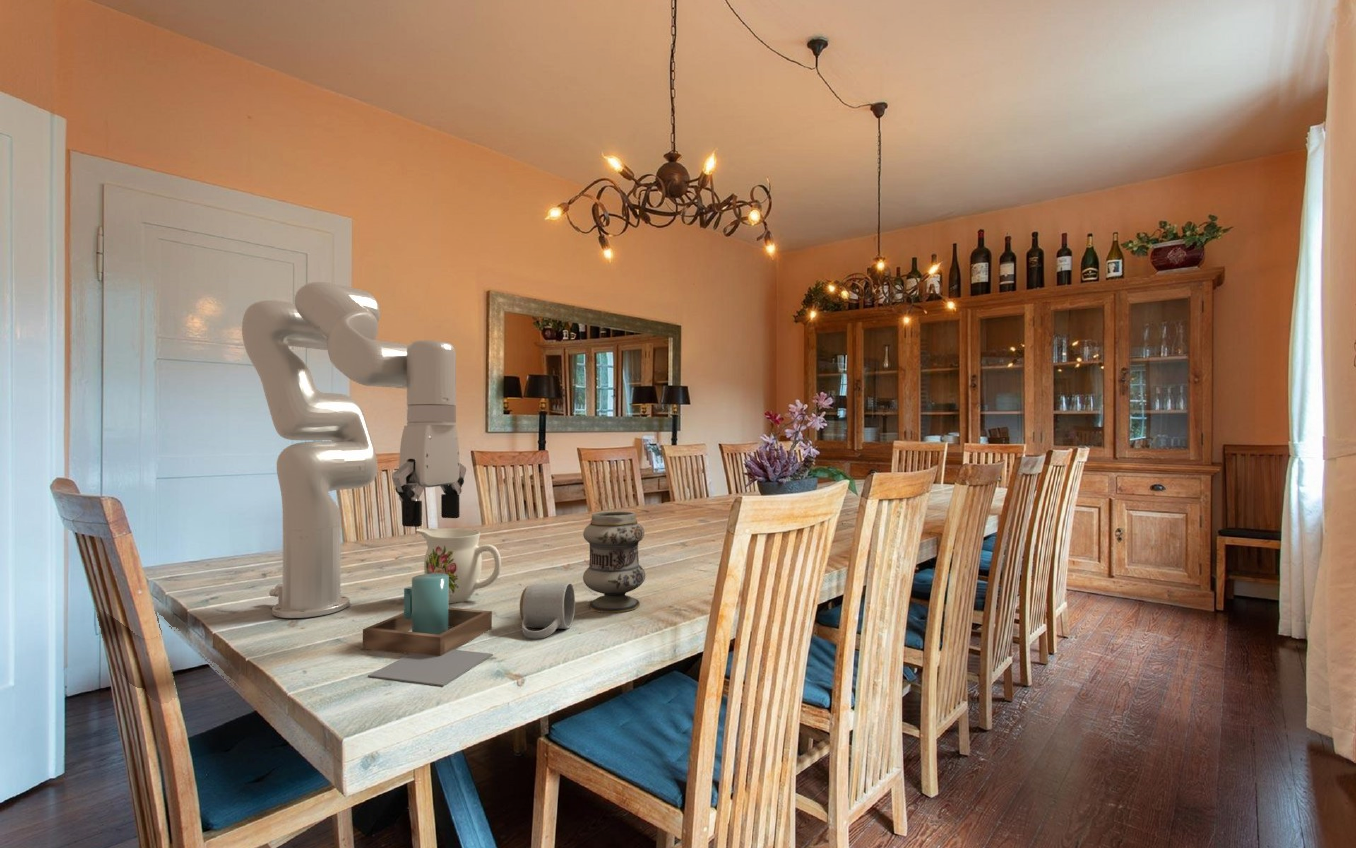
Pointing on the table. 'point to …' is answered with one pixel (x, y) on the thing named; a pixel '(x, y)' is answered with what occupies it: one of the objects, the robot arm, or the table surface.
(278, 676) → the table surface
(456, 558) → the pitcher
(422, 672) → the slate mat
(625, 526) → the apothecary jar
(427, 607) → the teal jug
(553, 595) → the ceramic mug
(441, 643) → the wooden tray
